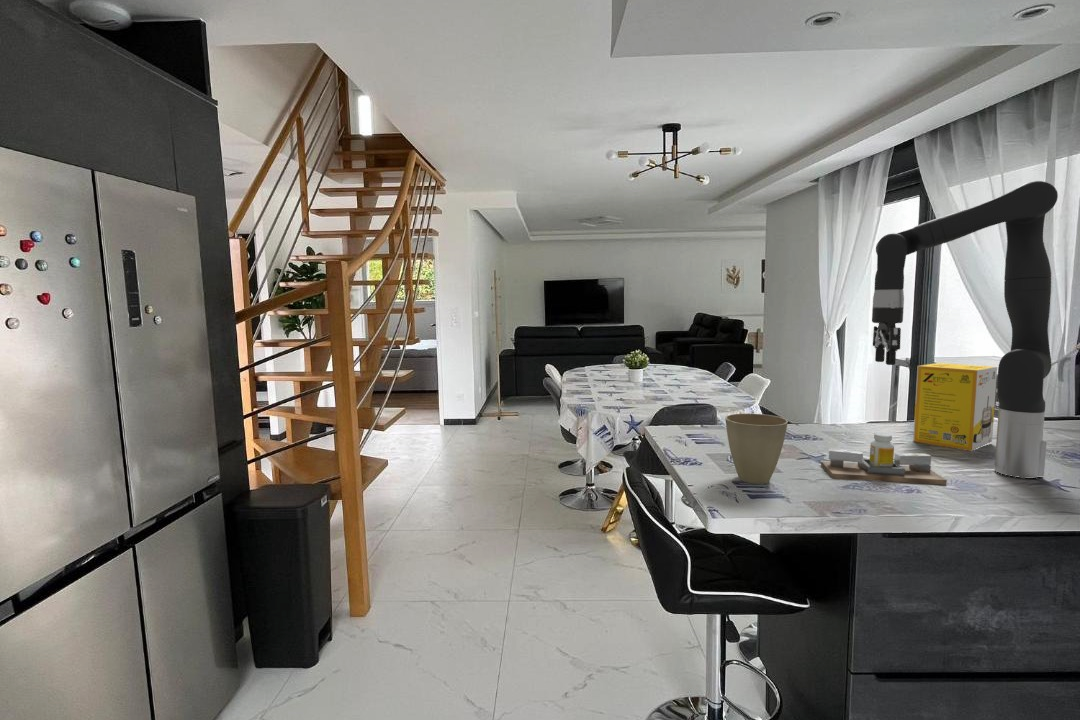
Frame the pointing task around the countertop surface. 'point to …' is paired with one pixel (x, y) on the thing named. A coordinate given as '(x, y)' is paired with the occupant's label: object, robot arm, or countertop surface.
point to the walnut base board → (858, 473)
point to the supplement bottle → (881, 450)
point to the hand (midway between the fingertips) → (884, 363)
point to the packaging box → (955, 405)
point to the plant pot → (755, 444)
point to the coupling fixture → (914, 460)
